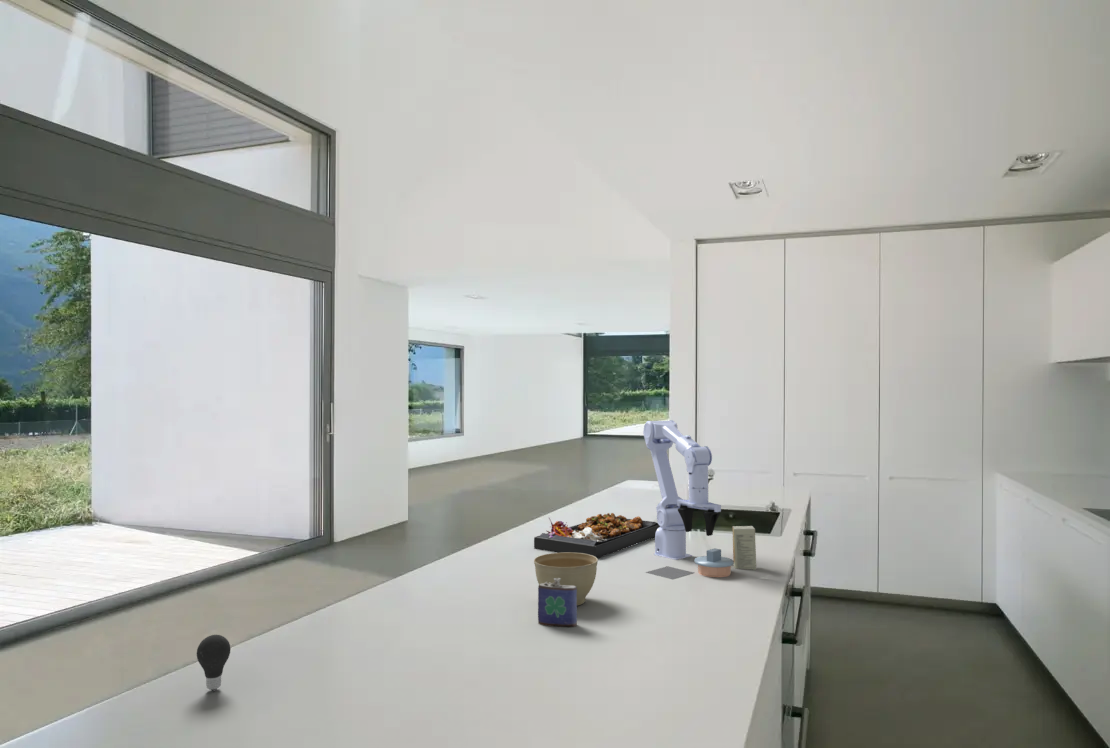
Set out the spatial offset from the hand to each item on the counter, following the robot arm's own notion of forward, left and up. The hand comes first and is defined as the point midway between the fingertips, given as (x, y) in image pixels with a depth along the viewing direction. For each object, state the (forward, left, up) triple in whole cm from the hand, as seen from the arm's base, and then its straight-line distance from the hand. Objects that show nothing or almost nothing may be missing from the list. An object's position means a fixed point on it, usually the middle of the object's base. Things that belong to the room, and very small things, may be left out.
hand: (698, 533), depth 217 cm
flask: (+8, -64, -11) cm, 65 cm away
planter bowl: (-3, -51, -11) cm, 52 cm away
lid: (+7, -2, -7) cm, 10 cm away
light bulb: (-8, -134, -11) cm, 135 cm away
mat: (-2, -11, -10) cm, 15 cm away
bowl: (+7, -2, -10) cm, 13 cm away
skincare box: (+9, +10, -11) cm, 17 cm away
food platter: (-46, +6, -11) cm, 47 cm away
